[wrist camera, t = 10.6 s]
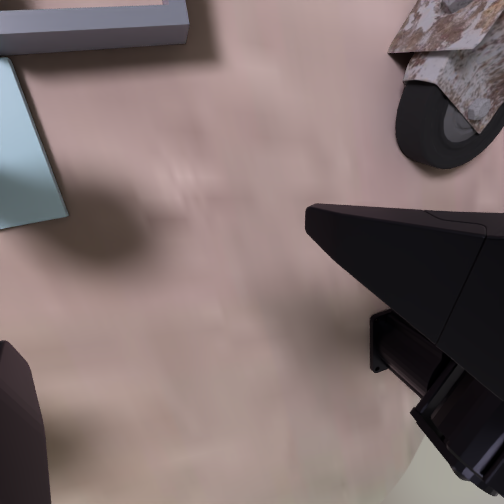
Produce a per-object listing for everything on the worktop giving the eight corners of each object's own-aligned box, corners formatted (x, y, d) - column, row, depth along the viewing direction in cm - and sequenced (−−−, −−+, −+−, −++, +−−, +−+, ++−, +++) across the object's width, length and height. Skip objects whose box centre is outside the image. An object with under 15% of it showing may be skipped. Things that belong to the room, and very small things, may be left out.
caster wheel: (412, 170, 26) (341, 112, 21) (508, 40, 23) (450, -67, 17) (481, 196, 21) (409, 128, 16) (622, 33, 17) (586, -125, 12)
